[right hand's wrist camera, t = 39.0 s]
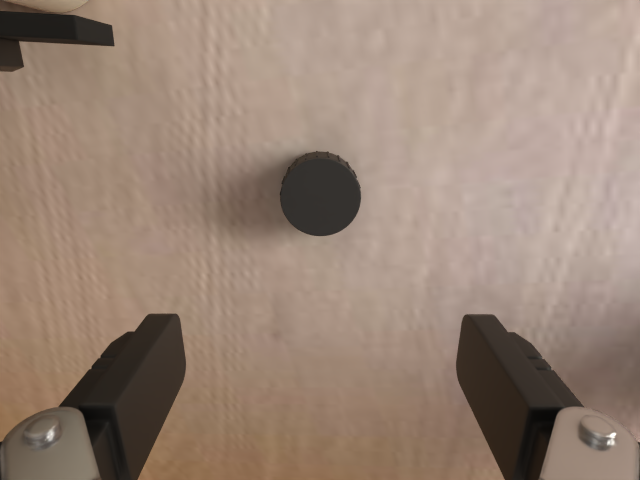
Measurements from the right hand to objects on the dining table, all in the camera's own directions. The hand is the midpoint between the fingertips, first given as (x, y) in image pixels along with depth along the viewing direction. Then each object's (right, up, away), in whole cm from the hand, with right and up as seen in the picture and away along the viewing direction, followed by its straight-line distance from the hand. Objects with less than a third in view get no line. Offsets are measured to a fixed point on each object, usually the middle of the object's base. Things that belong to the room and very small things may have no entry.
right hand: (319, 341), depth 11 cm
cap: (0, +5, +10) cm, 12 cm away
